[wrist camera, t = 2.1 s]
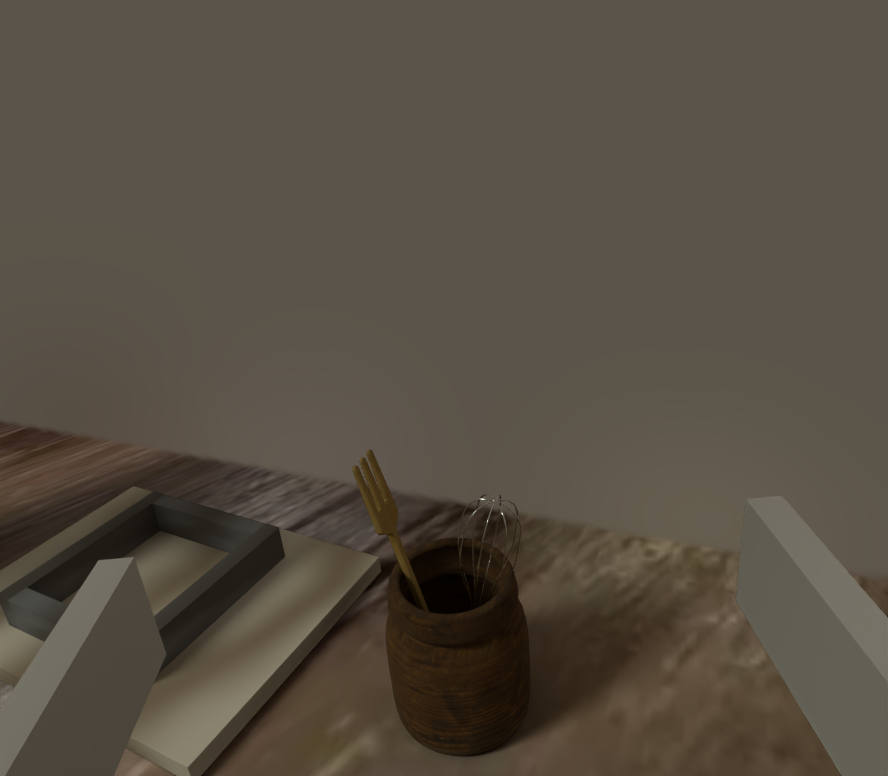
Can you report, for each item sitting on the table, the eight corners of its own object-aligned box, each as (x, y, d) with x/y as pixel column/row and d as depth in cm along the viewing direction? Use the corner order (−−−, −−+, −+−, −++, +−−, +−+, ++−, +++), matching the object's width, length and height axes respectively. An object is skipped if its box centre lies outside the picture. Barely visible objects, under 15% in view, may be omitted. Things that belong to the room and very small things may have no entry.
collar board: (-77, 637, 37) (-100, 593, 36) (137, 498, 48) (125, 460, 47) (193, 784, 28) (175, 732, 27) (381, 571, 39) (374, 527, 38)
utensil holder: (512, 780, 27) (497, 526, 22) (366, 740, 29) (322, 500, 24) (545, 665, 32) (539, 436, 27) (419, 638, 34) (391, 422, 29)
